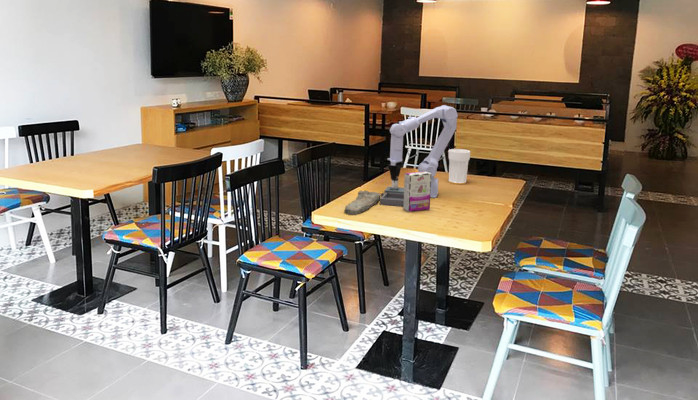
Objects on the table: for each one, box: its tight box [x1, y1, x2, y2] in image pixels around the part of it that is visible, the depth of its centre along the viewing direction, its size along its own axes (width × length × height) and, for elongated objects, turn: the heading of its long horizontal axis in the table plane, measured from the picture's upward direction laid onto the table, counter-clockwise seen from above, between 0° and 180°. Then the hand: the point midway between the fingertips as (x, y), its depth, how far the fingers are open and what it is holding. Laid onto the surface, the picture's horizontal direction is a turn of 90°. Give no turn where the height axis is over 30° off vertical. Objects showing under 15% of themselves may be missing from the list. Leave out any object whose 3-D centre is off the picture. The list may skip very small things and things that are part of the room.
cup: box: [447, 148, 471, 186], centre depth 317 cm, size 11×11×17 cm
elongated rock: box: [344, 189, 381, 216], centre depth 265 cm, size 35×5×10 cm
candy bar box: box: [402, 171, 431, 213], centre depth 259 cm, size 11×5×16 cm, turn 117°
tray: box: [379, 192, 404, 208], centre depth 272 cm, size 13×13×3 cm
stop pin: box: [391, 177, 399, 190], centre depth 284 cm, size 3×3×9 cm
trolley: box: [380, 186, 404, 198], centre depth 284 cm, size 14×9×7 cm
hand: (395, 178), depth 283 cm, fingers open, 7 cm apart
